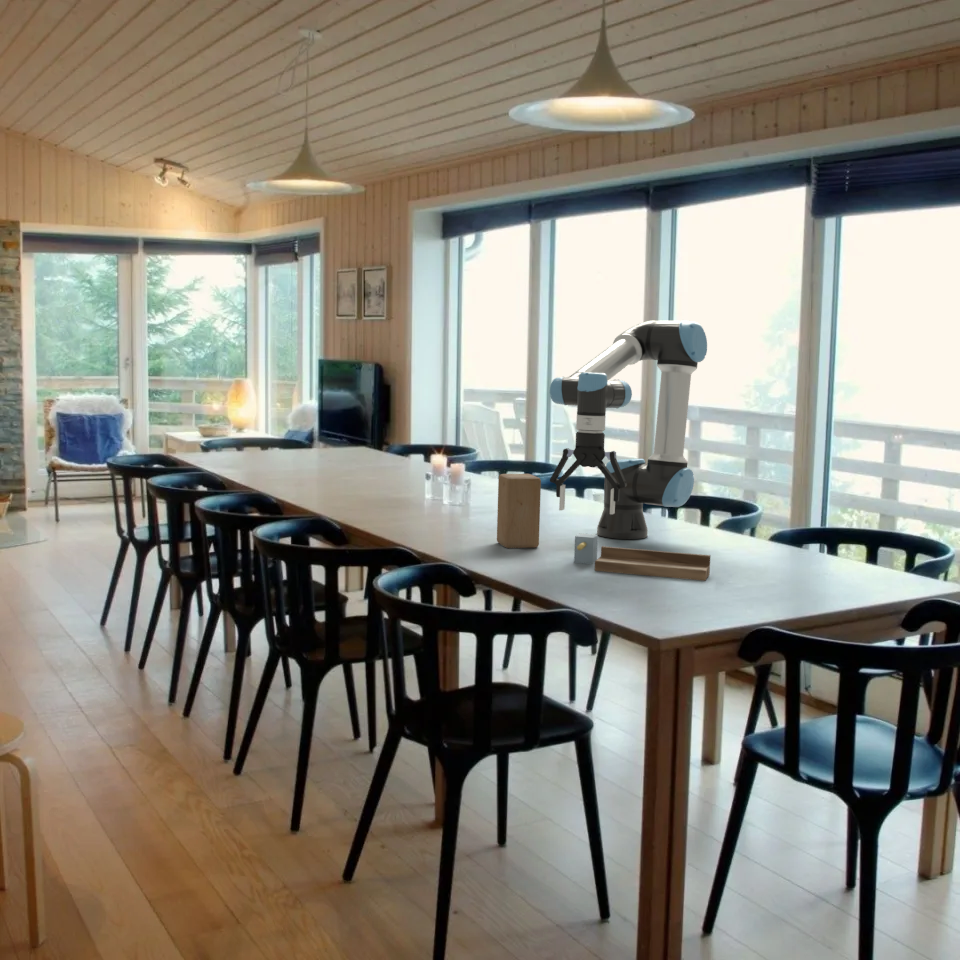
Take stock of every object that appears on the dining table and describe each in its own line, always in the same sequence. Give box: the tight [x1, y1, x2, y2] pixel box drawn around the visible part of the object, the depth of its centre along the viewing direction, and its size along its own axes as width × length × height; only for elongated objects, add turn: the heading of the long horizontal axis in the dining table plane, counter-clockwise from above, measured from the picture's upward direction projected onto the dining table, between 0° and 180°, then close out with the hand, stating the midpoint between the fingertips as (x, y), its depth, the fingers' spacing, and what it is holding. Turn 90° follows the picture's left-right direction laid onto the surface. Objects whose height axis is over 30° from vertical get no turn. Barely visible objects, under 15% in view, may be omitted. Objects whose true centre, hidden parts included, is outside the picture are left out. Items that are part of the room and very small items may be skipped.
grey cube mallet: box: [573, 533, 599, 565], centre depth 301 cm, size 10×5×7 cm, turn 162°
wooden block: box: [496, 473, 542, 549], centre depth 323 cm, size 10×10×20 cm
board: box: [594, 545, 711, 582], centre depth 291 cm, size 8×28×5 cm, turn 72°
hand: (586, 511), depth 302 cm, fingers open, 13 cm apart
